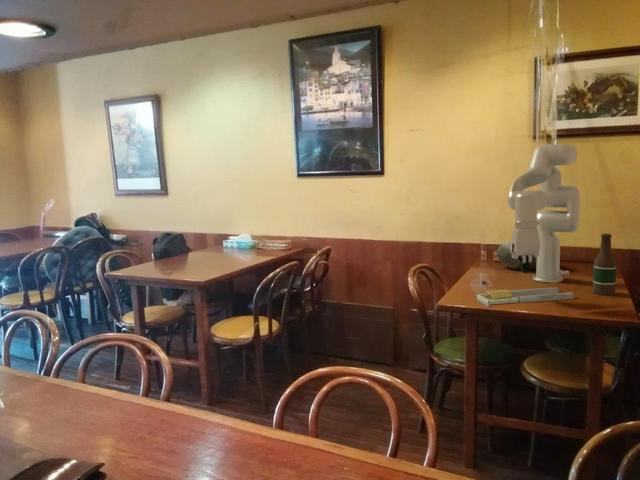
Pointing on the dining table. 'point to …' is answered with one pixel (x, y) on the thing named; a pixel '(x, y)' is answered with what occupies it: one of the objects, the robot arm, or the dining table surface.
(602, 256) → the beer bottle
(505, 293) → the chip
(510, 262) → the gourd
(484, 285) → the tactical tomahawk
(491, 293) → the chip
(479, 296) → the tray
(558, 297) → the slot board
